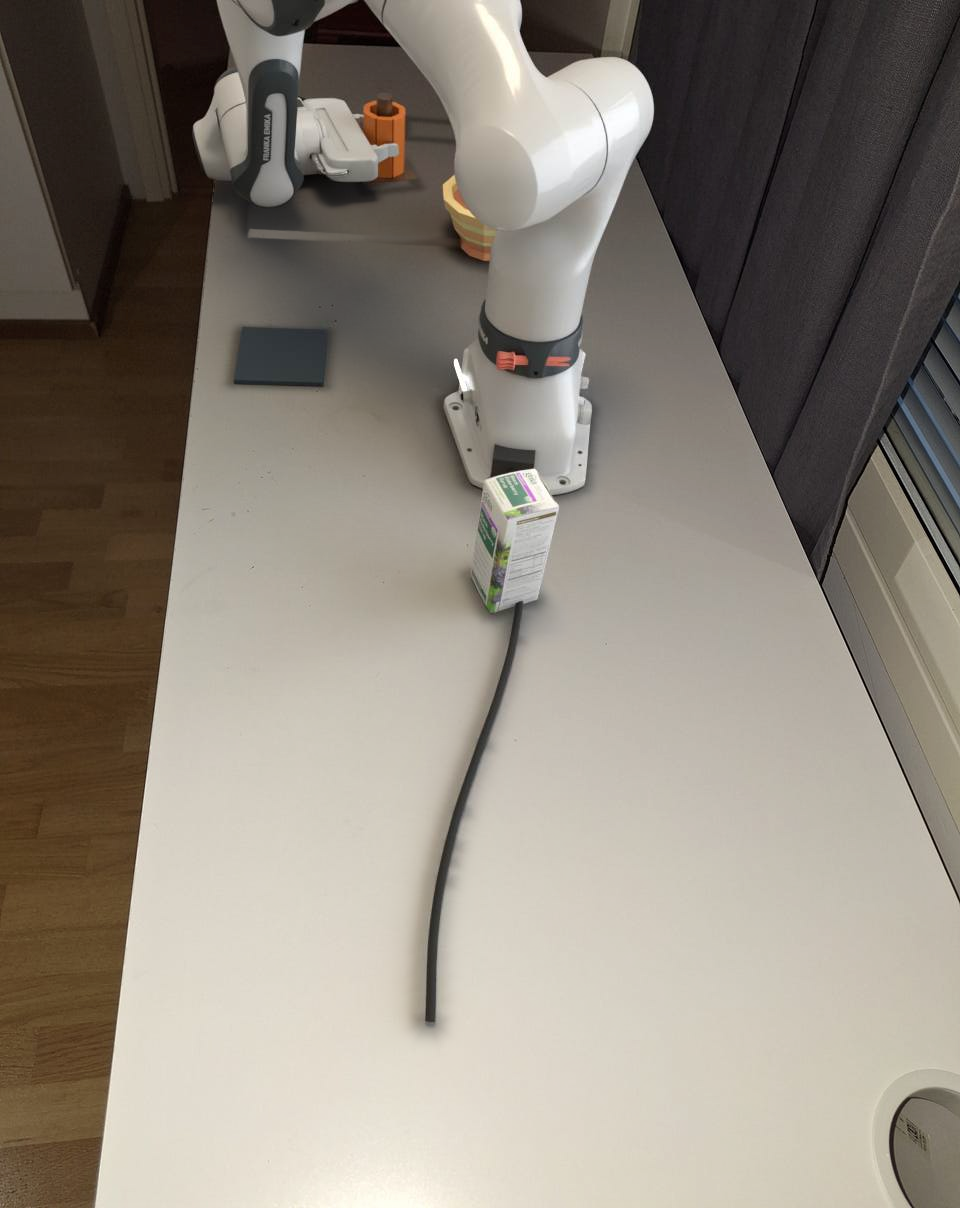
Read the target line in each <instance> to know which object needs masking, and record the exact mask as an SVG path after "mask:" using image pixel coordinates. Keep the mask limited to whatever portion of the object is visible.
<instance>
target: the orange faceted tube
mask: <svg viewBox="0 0 960 1208" xmlns="http://www.w3.org/2000/svg"><path fill="white" fill-rule="evenodd" d="M362 113H363V114H362V115H364V130H363V133H364V135H365V136H366V138H367V140H368V142H369V143H370V145H377V147H378V146H381V145H384V144H385V141H395V142H396V143H397V145H398V146H399V154H398V156H395V157H388V158H386V159H384V160H383V161H381V162H379V163H378V177H384V178H391V177H396V176H398V175H400V174H402V173H403V172H404V156H405V157H406V155H405V152H406V151H405V150H406V147H405V146H406V107H405V106H403V105H401V104H399V103H398V102H396V101H392V117H382V116H377V111H376V100H373V101H370V102H367V103H365V104H364V105H363V112H362Z"/></svg>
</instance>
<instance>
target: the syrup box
mask: <svg viewBox="0 0 960 1208" xmlns="http://www.w3.org/2000/svg"><path fill="white" fill-rule="evenodd" d="M479 508H480V509H479V515H478V520H477V521H478V522H477V529H476V533H475V534H476V535H475V542H474V547H473V557H472V564H471V570H470V578H471V579H472V581H473V583H474V585H475V588H476V590H477V592H478V594H479V595H480V597H481V600H482V602H483V603H484V605H485V607H486V609H487V610H488V612H489V614H494V613H497V612H501V611H504V610H505V611H506V610H508V609H512V608H515V605H516V603H517V602H519V601H523V605H524V604H527V603H531V602H535V601H537V600H538V599H539V595H540V590H541V586H542V582H543V577H544V573H545V569H546V565H547V560H548V556H549V552H550V548H551V543H552V539H553V534H554V531H555V526H556V522H557V519H558V514H559V510H560V505H559V504H558V503H557V501H556V500H555V499H554V497H553V495H551V493H550V491H549V489H548V488H547V486H546V484H545V483H544V481H543V480H542V479H541V477H540V475H539V474H538V472H537V470H536V469H529V470H522V471H516V472H511V473H507V474H502V475H499V476H495V477H492V478H489V479H486V480H484V486H483V489H482V494H481V501H480V507H479Z"/></svg>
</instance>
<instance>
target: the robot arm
mask: <svg viewBox="0 0 960 1208" xmlns="http://www.w3.org/2000/svg"><path fill="white" fill-rule="evenodd" d="M358 1H359V0H216V5H217V9H218V12H219V13H218V14H219V16H220V20H221V24H222V27H223V30H224V33H225V36H226V39H227V43H228V46H229V49H230V53H231V55H232V58H233V61H234V64H235V66H232V67H230V68H228V69H227V70H225V71H224V72H223V73H222V74H221V75H220V76H219V78H217V80H216V82H215V84H214V86H213V96H212V99H211V103H210V105H209V108H208V110H207V111H206V114H205V115H204V116H203V118H201V119H198V120H197V121H196V122H195V123H194V124H193V126H192V131H191V132H192V140H193V145H194V148H195V152H196V155H197V159H198V162H199V165H200V168H201V170H202V172H203V173H204V174H205V175H206V177H207V178H209V179H210V180H211V179H212V180H216V181H226V182H228V181H229V182H231V184H232V189H233V191H234V192H235V193H236V194H237V195H238V196H239V197H241V198H242V199H243V200H245V201H247V202H248V203H250V204H251V205H253V206H256V207H257V208H258V207H259V208H262V209H275V208H278V207H281V206H284V205H286V204H287V203H289V202H290V201H291V200H292V199H293V198H294V197H295V196H296V194H297V193H298V192H299V190H300V188H301V186H302V185H303V182H304V180H305V176H310V175H318V174H319V175H323V176H326V177H327V178H328V179H330V180H331V181H333V182H339V183H360V182H361V183H362V182H363V183H364V182H365V181H372V180H374V179H376V178H377V177H378V163H379V162H381V161H383V160H384V159H386V158H388V157H395V156H398V154H399V146H398V145H397V143H396V142H395V141H385V144H384V145H381V146H378V147H377V145H370V143H369V142H368V140H367V138H366V136H365V135H364V114H361V113H353V112H352V111H351V109H350V108H349V106H348V104H347V103H346V102H345V100H344V99H343V100H342V99H339V98H335V97H324V98H323V97H318V98H315V97H314V98H305V99H306V100H304V101H303V102H302V100H301V99H300V98H298V96H299V87H300V86H299V85H300V76H301V70H302V69H301V67H302V59H303V58H302V57H303V49H304V48H303V47H304V39H305V33H306V30H308V29H309V28H310V27H312V25H313V24H314V23H316V22H317V21H319V20H321V19H324V18H326V17H328V16H330V15H332V14H333V13H335V12H337V11H339V10H341V9H343V8H344V7H346V6H348V5H352V4H354V3H356V2H358ZM363 1H364V2H365V4H366V5H367V6H368V8H369V9H370V10H371V12H372V13H373V14H374V16H375V17H376V18H377V19H378V20H379V22H380V24H382V26H383V27H384V28H385V29H386V30H387V32H388V33H389V34H390V35H391V36H392V37H393V39H394V40H395V41H396V42H397V43H398V45H399V46H400V47H401V49H403V51H404V52H405V54H407V56H408V57H409V58H410V60H411V61H412V62H413V64H415V66H416V68H418V70H419V71H420V72H421V74H422V75H423V76H424V77H425V79H426V80H427V81H428V83H429V84H430V85H431V87H432V88H433V90H434V92H435V93H436V95H437V96H438V98H439V100H440V103H441V104H442V106H443V108H444V111H445V113H446V115H447V117H448V120H449V122H450V126H451V128H452V131H453V135H454V139H455V153H454V159H453V160H454V161H453V171H454V172H453V174H454V175H455V180H456V184H457V188H458V191H459V193H460V196H461V198H462V200H463V202H464V204H465V205H466V207H467V208H468V210H469V211H470V212H471V214H472V215H473V216H474V217H475V218H476V219H477V220H478V221H480V222H481V223H482V224H484V225H485V226H487V227H489V228H491V229H494V230H497V233H496V235H495V237H494V240H493V243H492V246H491V252H490V261H488V263H489V264H488V271H487V282H486V293H485V299H484V300H483V302H482V303H481V307H480V312H479V314H478V320H477V326H478V330H477V336H476V338H475V339H474V340H473V341H472V342H471V343H470V344H469V345H467V347H466V348H464V350H463V354H462V360H461V361H462V362H461V367H460V363H459V361H458V358H454V360H453V365H454V368H455V372H456V376H457V378H458V380H459V384H458V390H457V391H455V392H452V393H451V394H448V395H447V396H446V397H445V398H444V400H443V404H442V405H443V406H442V408H443V410H444V413H445V416H446V420H447V422H448V425H449V428H450V430H451V433H452V436H453V439H454V442H455V445H456V448H457V450H458V453H459V456H460V459H461V462H462V465H463V468H464V471H465V474H466V477H467V478H468V481H469V483H470V484H472V485H473V486H476V487H477V488H479V489H482V490H483V486H484V480H486V479H489V478H492V477H495V476H499V475H502V474H507V473H511V472H516V471H522V470H529V469H536V470H537V472H538V474H539V475H540V477H541V479H542V480H543V481H544V483H545V484H546V486H547V488H548V489H549V491H550V493H551V495H552V496H555V495H557V496H558V495H562V494H567V493H571V492H573V491H576V490H578V489H580V488H582V487H584V486H585V485H586V484H585V483H586V478H587V466H588V457H589V455H588V454H589V445H590V444H589V443H590V432H591V419H592V412H593V406H592V402H590V401H589V400H588V399H587V398H585V397H584V396H580V392H581V389H582V390H588V387H589V382H590V377H589V376H588V377H587V376H583V374H582V372H583V367H584V363H585V359H586V352H585V351H584V350H583V349H582V348H581V345H582V340H583V333H584V332H583V331H584V330H583V329H584V328H583V326H584V325H583V324H584V317H583V307H584V303H585V298H586V293H587V289H588V288H587V287H588V285H589V279H590V275H591V271H592V266H593V264H594V259H595V256H596V253H597V249H598V248H599V245H600V242H601V240H602V237H603V236H604V232H605V230H606V228H607V226H608V223H609V221H610V218H611V216H612V213H613V211H614V209H615V207H616V204H617V201H618V198H619V196H620V194H621V190H622V189H623V186H624V182H625V180H626V178H627V176H628V173H629V170H630V168H631V166H632V165H633V163H634V161H635V159H636V157H637V155H638V153H639V151H640V149H641V148H642V146H643V145H644V144H645V143H644V142H645V141H646V140H647V137H648V136H649V134H650V132H651V129H652V125H653V121H654V115H655V105H654V97H653V93H652V89H651V87H650V85H649V82H648V81H647V79H646V77H645V76H644V74H643V73H642V72H641V70H640V69H639V68H638V67H637V66H636V65H634V64H633V63H631V62H630V61H628V60H626V59H624V58H620V57H616V56H606V57H605V56H604V57H593V58H587V59H580V60H578V61H575V62H572V63H571V64H568V65H567V66H565V67H563V68H561V69H559V70H558V71H556V72H554V73H552V74H551V75H548V76H547V77H546V76H545V75H543V74H542V72H540V71H539V69H538V68H537V67H536V66H535V64H534V62H533V61H532V58H531V56H530V55H529V52H528V51H527V48H526V46H525V44H524V43H525V42H524V41H523V38H522V35H521V32H520V30H521V25H522V21H523V8H522V3H521V0H363ZM523 607H524V604H523V601H519V602H517V603H516V605H515V607H514V612H513V618H512V623H511V624H512V625H511V630H510V635H509V639H508V640H509V641H508V645H507V650H506V654H505V658H504V662H503V665H502V669H501V673H500V675H499V678H498V682H497V685H496V688H495V691H494V694H493V698H492V701H491V703H490V706H489V710H488V711H487V715H486V717H485V720H484V724H483V726H482V728H481V730H480V734H479V737H478V739H477V742H476V746H475V748H474V751H473V753H472V756H471V758H470V762H469V765H468V768H467V771H466V774H465V776H464V779H463V782H462V785H461V787H460V791H459V793H458V797H457V798H456V799H457V800H456V803H455V806H454V809H453V812H452V815H451V819H450V822H449V826H448V829H447V833H446V837H445V841H444V846H443V849H442V853H441V857H440V861H439V866H438V871H437V875H436V880H435V886H434V892H433V898H432V904H431V911H430V919H429V926H428V937H427V953H426V977H425V978H426V981H425V1016H424V1019H425V1020H424V1021H425V1022H427V1023H434V1022H436V1011H437V971H438V970H437V968H438V967H437V965H438V964H437V963H438V944H439V932H440V930H439V929H440V921H441V912H442V905H443V899H444V893H445V892H444V891H445V886H446V881H447V875H448V871H449V866H450V862H451V858H452V853H453V849H454V844H455V840H456V836H457V833H458V829H459V826H460V822H461V819H462V815H463V811H464V808H465V805H466V802H467V800H468V796H469V794H470V790H471V788H472V784H473V781H474V778H475V776H476V773H477V770H478V767H479V764H480V761H481V759H482V755H483V752H484V749H485V746H486V744H487V741H488V738H489V735H490V732H491V730H492V727H493V725H494V722H495V719H496V716H497V713H498V710H499V707H500V705H501V701H502V698H503V695H504V692H505V688H506V686H507V681H508V678H509V675H510V672H511V669H512V664H513V662H514V661H513V660H514V658H515V654H516V649H517V644H518V638H519V634H520V628H521V627H520V626H521V621H522V614H523Z"/></svg>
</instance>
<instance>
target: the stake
mask: <svg viewBox="0 0 960 1208" xmlns="http://www.w3.org/2000/svg"><path fill="white" fill-rule="evenodd" d="M375 97H376V100H375V101H376V111H377V116H382V117H392V102H393V95H392V94H391V93H389V92H379V93H377V94H376V96H375ZM419 179H420V178H419V176H418V175H417V173H416V171H415V170H414V168H413V167H412V165H411V164H410V162H409V161H408V159H407V157H406V155H405V156H404V172H403V173H402V174H400V175H398V176H396V177H391V178H384V177H377V178H376V179H374V180H372V181H365V182H363V184H364V185H374V184H383V183H394V182H403V181H404V182H405V181H414V180H415V181H416V180H419Z"/></svg>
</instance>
